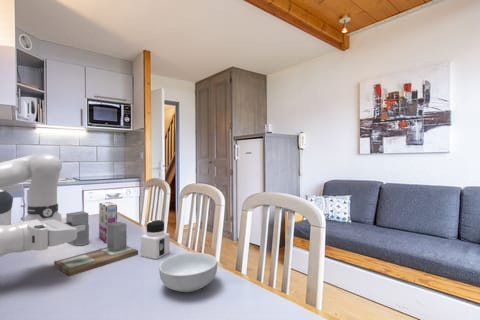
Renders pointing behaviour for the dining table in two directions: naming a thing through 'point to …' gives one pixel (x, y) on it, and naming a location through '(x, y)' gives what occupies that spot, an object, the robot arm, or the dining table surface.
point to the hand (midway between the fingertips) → (80, 225)
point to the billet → (116, 237)
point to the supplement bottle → (88, 238)
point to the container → (155, 240)
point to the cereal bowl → (188, 271)
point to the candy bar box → (106, 218)
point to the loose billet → (76, 220)
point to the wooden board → (92, 260)
